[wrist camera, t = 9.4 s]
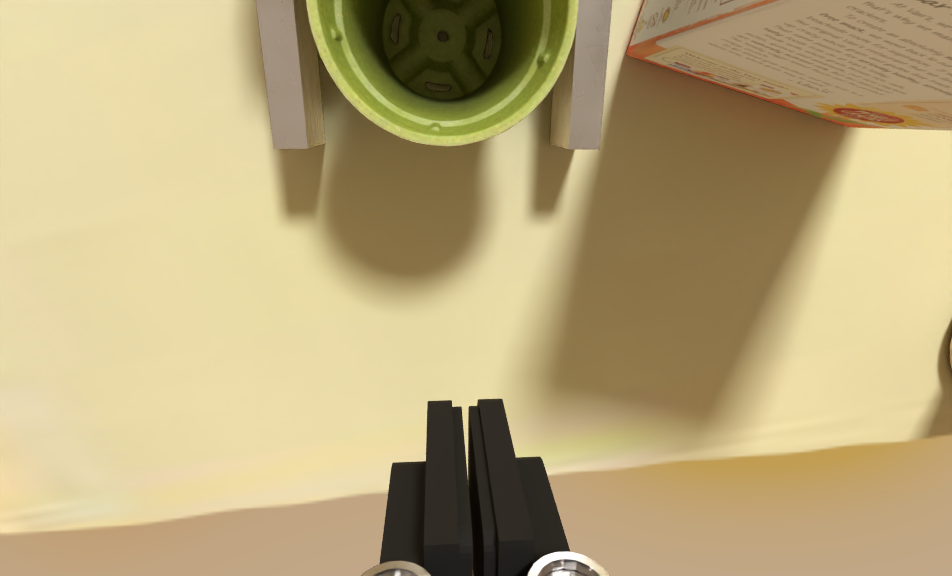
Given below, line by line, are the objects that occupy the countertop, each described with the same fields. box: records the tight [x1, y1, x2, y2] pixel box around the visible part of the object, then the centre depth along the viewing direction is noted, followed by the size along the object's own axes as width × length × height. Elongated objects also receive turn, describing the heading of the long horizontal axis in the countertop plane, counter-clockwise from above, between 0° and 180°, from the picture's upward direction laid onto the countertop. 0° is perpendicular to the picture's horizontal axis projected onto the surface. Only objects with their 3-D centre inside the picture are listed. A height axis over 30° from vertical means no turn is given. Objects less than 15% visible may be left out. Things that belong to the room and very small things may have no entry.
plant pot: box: [306, 0, 579, 146], centre depth 21 cm, size 9×9×9 cm
